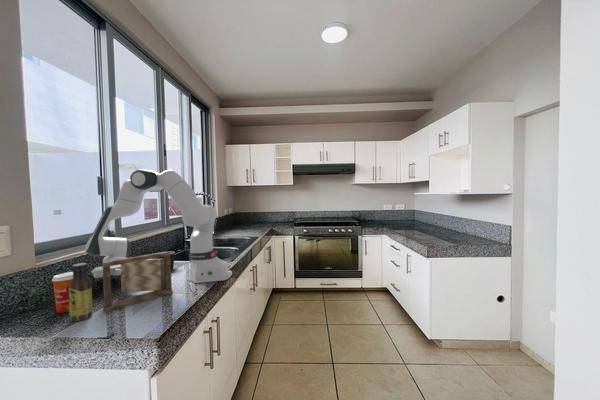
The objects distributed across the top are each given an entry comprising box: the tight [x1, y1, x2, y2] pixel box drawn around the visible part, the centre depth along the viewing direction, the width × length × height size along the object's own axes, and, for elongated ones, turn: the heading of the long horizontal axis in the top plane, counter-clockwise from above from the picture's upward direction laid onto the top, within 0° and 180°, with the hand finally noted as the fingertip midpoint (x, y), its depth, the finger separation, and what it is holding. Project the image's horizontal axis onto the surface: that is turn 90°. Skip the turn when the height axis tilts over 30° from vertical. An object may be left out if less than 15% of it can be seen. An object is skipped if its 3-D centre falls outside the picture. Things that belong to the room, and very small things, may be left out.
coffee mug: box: [152, 251, 176, 271], centre depth 147 cm, size 12×9×10 cm
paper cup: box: [51, 271, 73, 314], centre depth 96 cm, size 8×8×14 cm
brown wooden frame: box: [102, 250, 174, 313], centre depth 104 cm, size 24×6×18 cm, turn 137°
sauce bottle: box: [69, 262, 93, 322], centre depth 89 cm, size 6×6×20 cm
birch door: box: [120, 258, 165, 293], centre depth 110 cm, size 19×3×14 cm, turn 92°
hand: (123, 271), depth 115 cm, fingers closed
